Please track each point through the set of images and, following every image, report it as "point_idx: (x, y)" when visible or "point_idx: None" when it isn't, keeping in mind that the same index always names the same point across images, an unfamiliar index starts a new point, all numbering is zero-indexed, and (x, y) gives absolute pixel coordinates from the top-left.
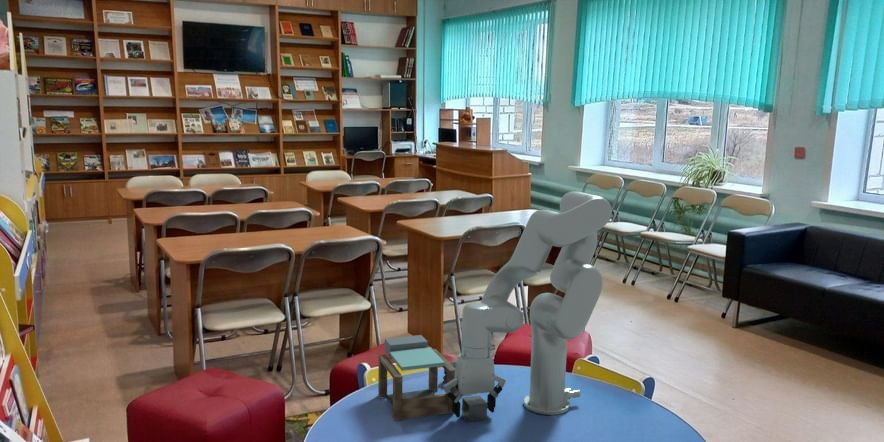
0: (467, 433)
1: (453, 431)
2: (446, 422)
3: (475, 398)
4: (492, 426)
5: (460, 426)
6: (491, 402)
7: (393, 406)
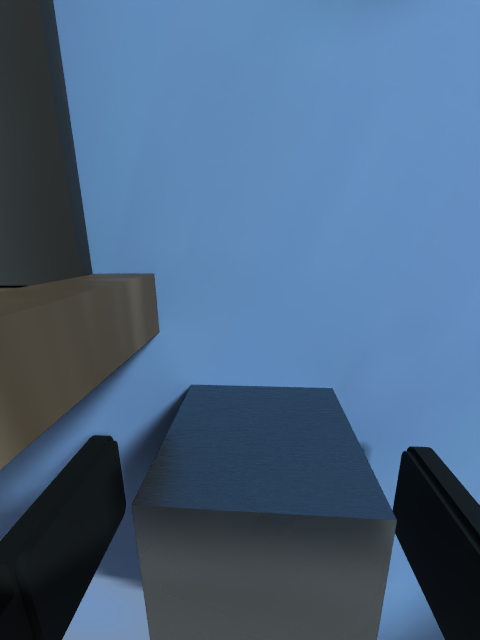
0: None
1: None
2: (63, 443)
3: (293, 570)
4: None
5: None
6: (444, 624)
7: None
